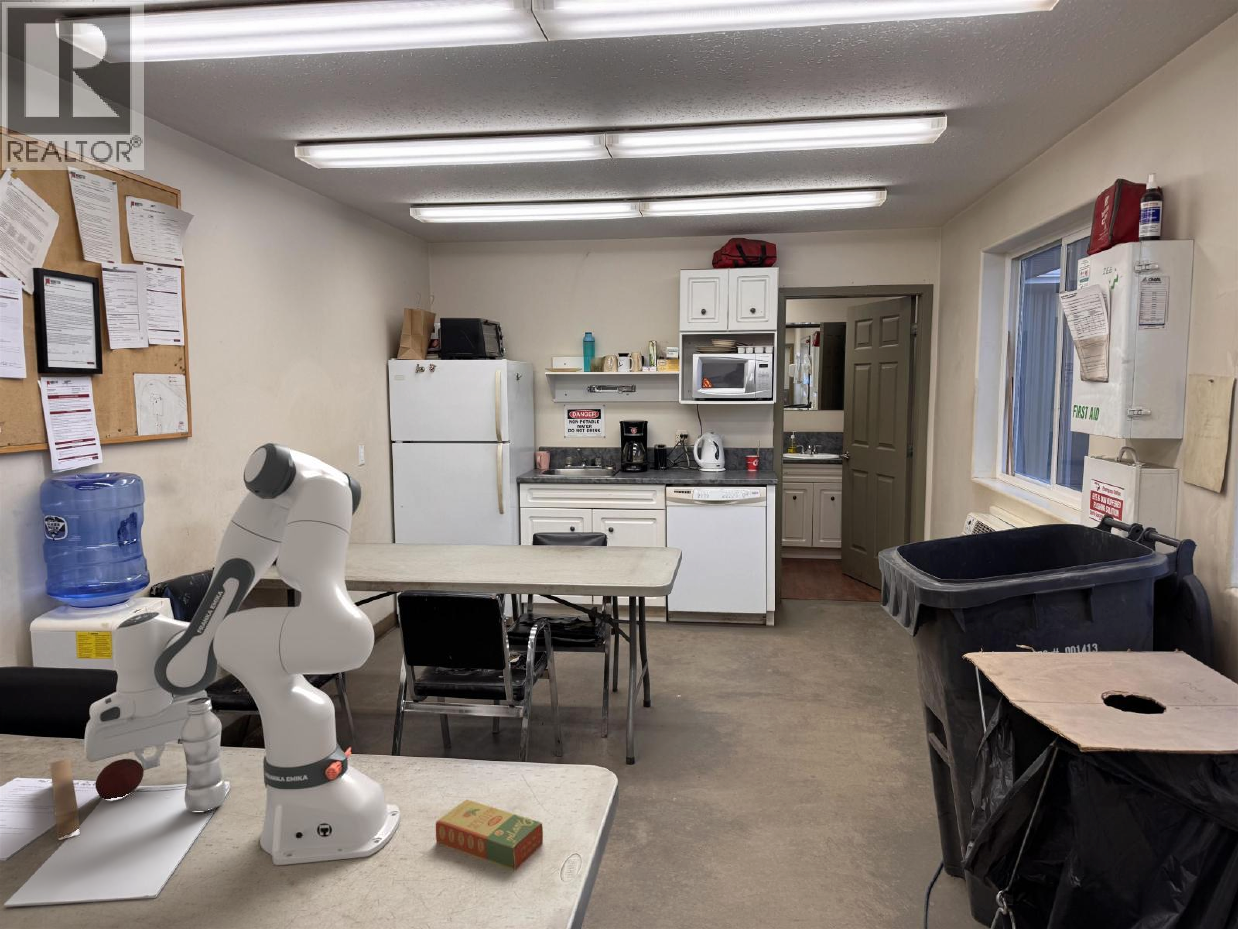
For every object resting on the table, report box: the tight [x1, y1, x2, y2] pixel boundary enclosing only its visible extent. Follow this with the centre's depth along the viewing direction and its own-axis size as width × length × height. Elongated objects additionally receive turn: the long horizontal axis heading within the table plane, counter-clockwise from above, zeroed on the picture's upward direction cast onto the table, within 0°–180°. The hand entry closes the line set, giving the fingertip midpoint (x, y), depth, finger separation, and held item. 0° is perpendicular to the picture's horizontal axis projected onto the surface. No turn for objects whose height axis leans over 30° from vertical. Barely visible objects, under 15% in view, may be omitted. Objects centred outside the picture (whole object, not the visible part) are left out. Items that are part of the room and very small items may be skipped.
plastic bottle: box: [180, 696, 227, 812], centre depth 136 cm, size 6×7×20 cm
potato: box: [94, 758, 145, 800], centre depth 142 cm, size 7×8×7 cm
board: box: [50, 758, 81, 839], centre depth 138 cm, size 3×24×4 cm, turn 39°
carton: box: [435, 799, 544, 871], centre depth 125 cm, size 8×16×4 cm, turn 62°
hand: (151, 767), depth 146 cm, fingers closed
